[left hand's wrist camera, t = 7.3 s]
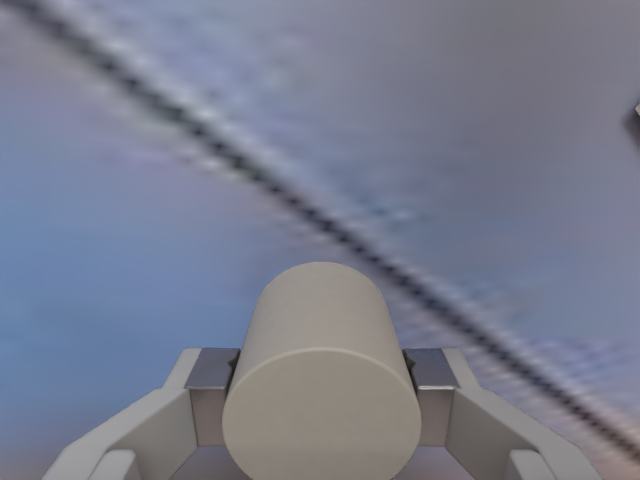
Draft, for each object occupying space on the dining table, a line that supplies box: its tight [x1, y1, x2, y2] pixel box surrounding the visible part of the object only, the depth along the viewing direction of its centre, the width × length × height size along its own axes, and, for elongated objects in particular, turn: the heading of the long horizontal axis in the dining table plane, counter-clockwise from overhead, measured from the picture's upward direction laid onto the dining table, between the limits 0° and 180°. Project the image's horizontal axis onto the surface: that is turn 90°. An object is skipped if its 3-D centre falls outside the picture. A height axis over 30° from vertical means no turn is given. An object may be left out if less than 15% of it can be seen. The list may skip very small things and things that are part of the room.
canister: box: [222, 262, 422, 480], centre depth 10 cm, size 4×4×4 cm
